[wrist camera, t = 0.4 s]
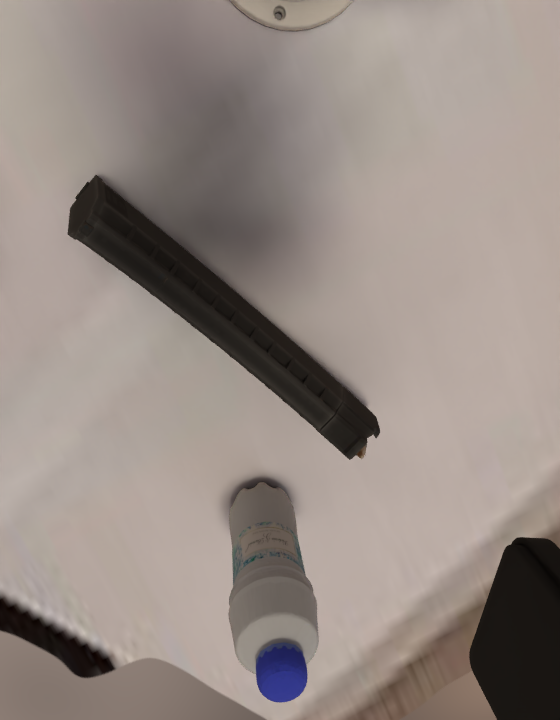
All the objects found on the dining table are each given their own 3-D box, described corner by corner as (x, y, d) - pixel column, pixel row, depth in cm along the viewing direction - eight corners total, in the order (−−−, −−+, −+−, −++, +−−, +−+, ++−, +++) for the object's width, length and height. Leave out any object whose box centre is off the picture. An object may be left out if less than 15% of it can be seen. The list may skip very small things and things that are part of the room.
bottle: (295, 473, 50) (338, 649, 32) (291, 530, 53) (330, 725, 34) (227, 475, 50) (230, 656, 31) (226, 532, 52) (229, 733, 33)
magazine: (-1, 186, 31) (362, 521, 31) (31, 143, 30) (400, 485, 31) (118, 220, 47) (353, 438, 48) (140, 193, 47) (377, 414, 48)
